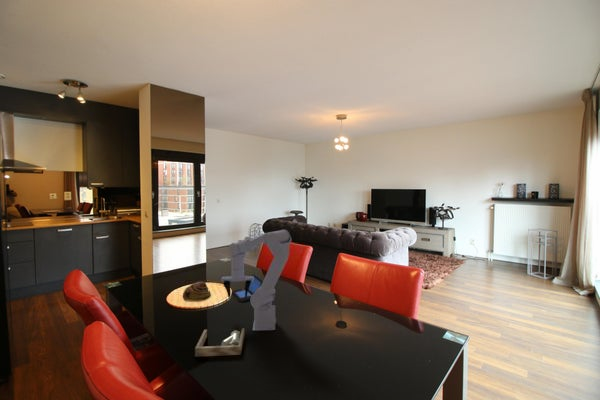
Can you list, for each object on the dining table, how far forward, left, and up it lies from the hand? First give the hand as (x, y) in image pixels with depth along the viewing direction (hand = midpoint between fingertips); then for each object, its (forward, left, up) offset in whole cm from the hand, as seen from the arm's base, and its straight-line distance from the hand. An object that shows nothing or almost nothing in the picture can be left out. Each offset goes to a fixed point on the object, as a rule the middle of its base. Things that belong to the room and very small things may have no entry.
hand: (237, 296), depth 129 cm
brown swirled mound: (+26, -26, -10) cm, 38 cm away
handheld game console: (-2, -25, -10) cm, 27 cm away
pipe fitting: (0, +24, -10) cm, 26 cm away
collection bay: (+3, +23, -9) cm, 25 cm away
